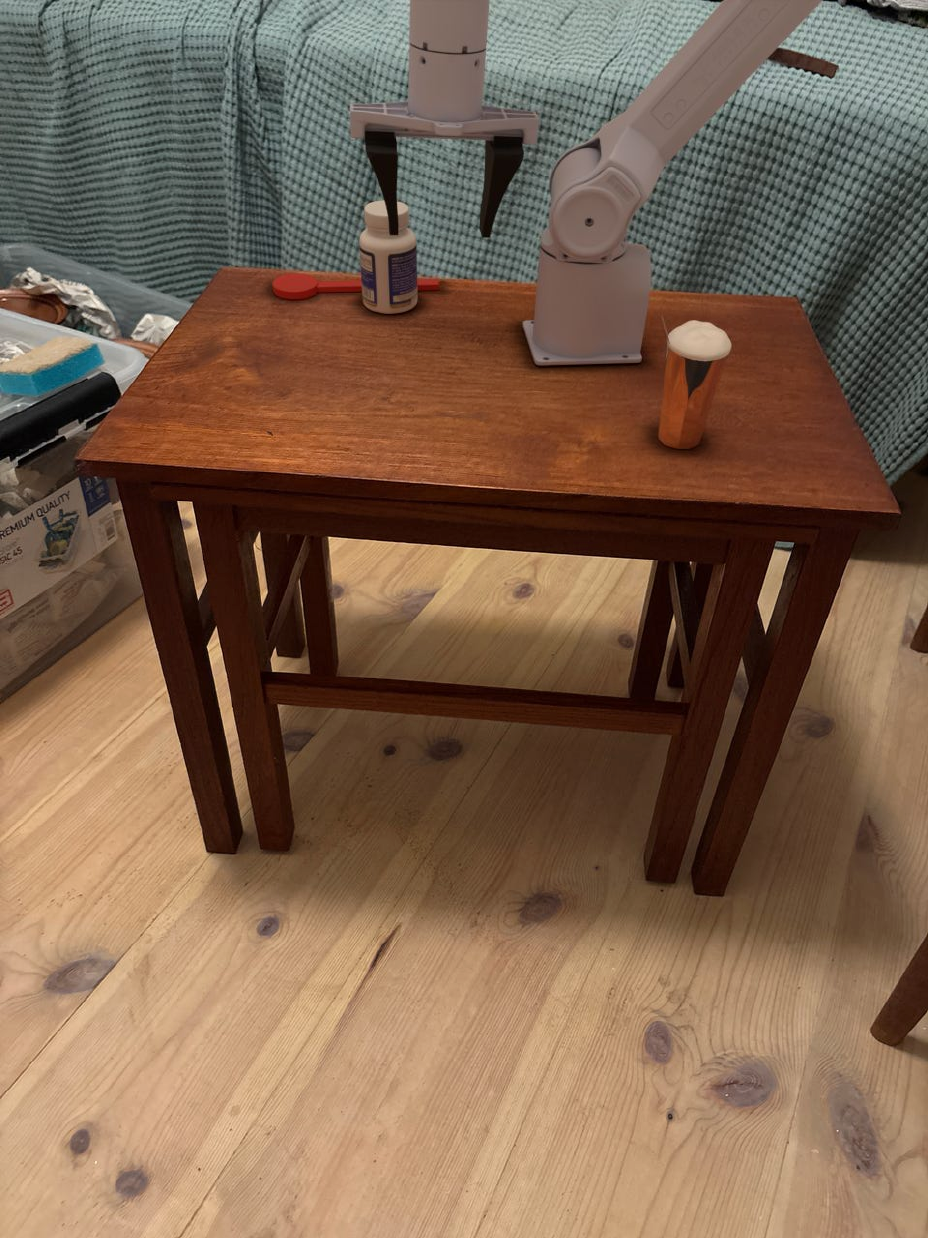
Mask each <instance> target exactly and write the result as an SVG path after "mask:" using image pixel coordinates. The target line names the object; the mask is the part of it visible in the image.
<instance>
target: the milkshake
mask: <svg viewBox="0 0 928 1238" xmlns="http://www.w3.org/2000/svg"><path fill="white" fill-rule="evenodd" d="M661 319H662V325H663V326H664V327H663V328H664V331H665V335H666V353H665V362H664V363H665V365H664V381H663V391H662V392H663V394H662V401H661V410H660V419H659V426H658V434H657V435H658V436H657V438H658V440H659V441H660V442H661V443H662V444H663V445H664V446H666V447H669V448H672V449H675V450H690V449H691V450H692V448H694V447H696V446H698V445H700V441H701V439H702V435H703V432H704V429H705V426H706V423H707V420H708V416H709V414H710V411H711V408H712V405H713V401H714V399H715V395H716V391H717V389H718V386H719V384H720V382H721V381H720V380H721V378H722V375H723V373H724V370H725V366H726V364H727V361H728V358H729V356H730V352H731V349H732V342H731V340H730V338H729V336H728V334H727V333H726V331H725V330H723V329H722V328H719V327H717V326H716V325H714V324H713V323H711V322H708V321H699V320H695V319H694V320H693V319H692V320H689V321H687V322H685V323H683V324H681V325H679V326H677V327H674V329H672V330H671V331H670V332H669V333H668V331H667V330H668V329H667V326H666V323H665V320H664V317H663V316H661Z"/></svg>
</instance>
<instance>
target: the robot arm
mask: <svg viewBox="0 0 928 1238" xmlns="http://www.w3.org/2000/svg"><path fill="white" fill-rule="evenodd" d="M490 1H491V0H409V24H408V25H409V27H408V28H409V30H408V32H409V33H408V34H409V35H408V42H409V43H408V83H407V86H408V87H407V95H408V96H407V100H406V101H392V102H390V101H389V102H376V103H350V104H349V126H350V127H349V129H350V130H349V131H350V132H349V133H350V138H351V139H364V145H365V147H364V148H365V153H366V156H367V158H368V161H369V164H370V165H371V167H372V170H373V172H374V174H375V177H376V180H377V183H378V185H379V188H380V191H381V195H382V199H383V201H384V202H385V205H386V210H387V214H388V221H389V233H390V235H398V227H399V223H398V208H397V202H398V170H399V153H398V142H397V141H398V140H397V138H414V139H415V138H417V139H439V140H440V139H441V140H465V141H467V140H468V141H485V142H484V172H483V173H484V175H483V187H482V189H483V190H482V196H481V204H480V211H479V225H478V227H479V228H478V229H479V232H480V235H481V236H480V237H481V238H487V239H489V238H491V234H492V230H493V227H494V222H495V219H496V216H497V213H498V211H499V208H500V206H501V203H502V201H503V198H504V196H505V194H506V192H507V190H508V188H509V186H510V184H511V182H512V180H513V179H514V177H515V175H516V174H517V172H518V171H519V169H520V168H521V166H522V163H523V161H524V157H525V150H524V148H523V145H528V146H536V145H537V142H538V136H539V135H538V134H539V127H540V126H539V125H540V118H539V116H538V114H537V112H536V111H535V110H521V109H511V108H505V107H498V106H490V105H486V104H485V105H484V104H483V101H484V89H485V88H484V87H485V76H486V75H485V72H486V61H487V60H486V59H487V58H486V57H487V46H488V45H487V44H488V31H489V30H488V29H489V16H490ZM823 1H824V0H722V1H721V2H720V4H719V5H718V6H717V7H716V8H715V9H714V11H712V13H710V15H709V16H708V17H707V18H706V19H705V21H704V22H703V23H702V24H701V25H700V26H699V28H697V30H696V31H695V32H694V33H693V34H692V35H691V36H690V37H689V38H688V40H686V42H685V43H684V44H683V46H681V48H680V49H679V50H678V51H677V52H676V53H675V54H674V56H673V57H672V58H671V59H670V60H669V61H668V62H667V63H666V64H665V65H664V67H663V68H662V69H661V70H660V71H659V72H658V74H657V75H656V76H655V77H654V78H653V79H652V81H651V82H650V83H649V84H648V85H647V86H646V87H645V88H644V89H643V90H642V91H641V92H640V94H638V96H637V97H636V98H635V100H634V101H633V102H632V103H631V104H630V105H629V106H628V107H627V108H626V109H625V111H623V112H622V113H621V114H619V115H618V116H616V117H614V118H613V119H611V120H609V121H608V122H606V123H604V125H602V127H601V128H600V129H599V130H598V131H597V132H596V133H595V134H594V135H593V136H592V137H590V139H588V140H586V141H585V142H583V143H580V144H578V145H575V146H572V147H571V148H569V149H568V150H566V151H565V152H564V153H563V154H562V155H560V157H559V158H558V159H557V160H556V161H555V164H554V165H553V168H552V170H551V172H550V176H549V183H548V187H549V195H550V208H549V214H548V219H547V220H548V227H547V228H545V230H544V231H543V232H542V233H541V235H540V239H539V240H540V242H539V253H538V263H537V275H536V276H537V277H536V288H535V302H534V303H535V304H534V313H533V314H534V315H533V320H532V319H530V320H529V319H527V320H523V321H522V326H521V327H522V330H523V332H524V335H525V339H526V342H527V345H528V347H529V350H530V354H531V356H532V359H533V362H534V364H535V365H537V366H568V365H569V366H572V365H573V366H574V365H604V364H605V365H607V364H608V365H609V364H638V363H641V362H642V358H643V357H642V354H641V349H642V343H643V337H644V331H645V326H646V320H647V313H648V307H649V302H650V297H651V288H652V261H651V256H650V255H651V254H650V253H649V249H648V248H647V246H646V245H644V244H642V243H641V244H640V243H631V242H628V241H627V237H626V236H627V234H628V232H629V228H630V225H631V223H632V221H633V218H634V216H635V214H636V213H637V211H638V210H639V209H640V208H641V207H642V206H643V205H644V204H645V202H646V201H648V200H649V198H650V196H651V194H652V192H653V191H654V189H655V186H656V184H657V182H658V180H659V179H660V176H661V174H662V172H663V170H664V169H665V167H666V165H667V164H668V163H669V162H670V161H671V160H672V159H673V158H674V157H675V156H676V155H677V154H678V153H679V151H681V150H682V149H683V147H684V146H685V145H687V143H688V142H689V141H690V140H691V139H692V138H693V137H694V136H695V135H696V134H697V133H698V132H699V131H700V130H701V129H702V128H703V127H704V126H705V124H706V123H707V122H708V121H709V120H710V119H711V118H712V117H713V116H714V115H715V114H716V113H717V112H718V111H719V110H720V109H721V108H722V106H724V105H725V103H726V102H728V100H729V99H730V98H731V97H732V96H733V95H734V94H735V93H736V92H737V91H738V90H739V89H740V88H741V87H742V86H743V84H745V82H747V80H748V79H749V78H750V77H751V76H752V75H753V74H754V73H755V72H756V71H757V70H758V69H759V68H760V67H761V66H762V65H763V64H764V63H765V62H766V60H767V59H769V57H770V56H771V55H772V54H773V53H774V52H775V51H776V50H777V49H778V48H779V47H780V46H781V45H782V44H783V43H784V41H786V40H787V39H788V38H789V36H790V35H792V33H793V32H794V31H795V30H796V29H797V28H798V27H799V26H800V25H801V24H802V23H803V22H804V21H805V20H806V19H807V18H808V16H810V14H811V13H812V12H813V11H815V9H816V8H817V7H818V6H819V5H820V4H821V3H822V2H823Z"/></svg>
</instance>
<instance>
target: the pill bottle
mask: <svg viewBox="0 0 928 1238" xmlns="http://www.w3.org/2000/svg"><path fill="white" fill-rule="evenodd" d="M397 208H398V223H399V227H398V235H390V233H389V221H388V214H387V210H386V205H385V202H384V200H376V201H372V202H370V203H367V204H365V206H364V209H363V210H364V211H363V213H364V214H363V215H364V225H365V227H367V228H366V229H364V230H363V231H362V232H361V233H360V235H359V239H358V246H359V247H358V248H359V249H358V250H359V262H360V263H359V264H360V265H359V266H360V267H359V268H360V280H361V282H362V292H361V296H362V303H363V305H364V306H365V307H366V308H367V309H368V310H369V311H372V312H374V313H379V314H387V315H393V314H395V315H396V314H401V313H404V312H408V311H410V310H412V309H414V307H416V305H417V303H418V291H417V279H418V258H417V257H418V252H417V250H418V249H417V248H418V247H417V245H418V244H417V237H416V234H415V233H414V232H413V231H412V229H410V228H408V226H409V224H410V218H409V217H410V212H409V207H408V205H407V204H406V203H403V202H402V201H397Z"/></svg>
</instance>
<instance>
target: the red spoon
mask: <svg viewBox="0 0 928 1238" xmlns="http://www.w3.org/2000/svg"><path fill="white" fill-rule="evenodd" d="M439 290H440V283H439V279H438V278H417V292H419V291H439ZM272 292H273V293H274V295H275V296H277V297H278V298H281V299H285V300H304V299H308V298H311V297H313V296H315V295H317V294H319V293H360V292H361V293H362V282H361V279H358V280H357V279H354V280H353V279H352V280H351V279H350V280H349V279H347V280H318V278H317V277H315V276H313V275H310V274H307V273H300V272H299V273H298V272H293V273H286V274H282V275H280V276H277V277H276V278H274V279H273V281H272Z"/></svg>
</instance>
